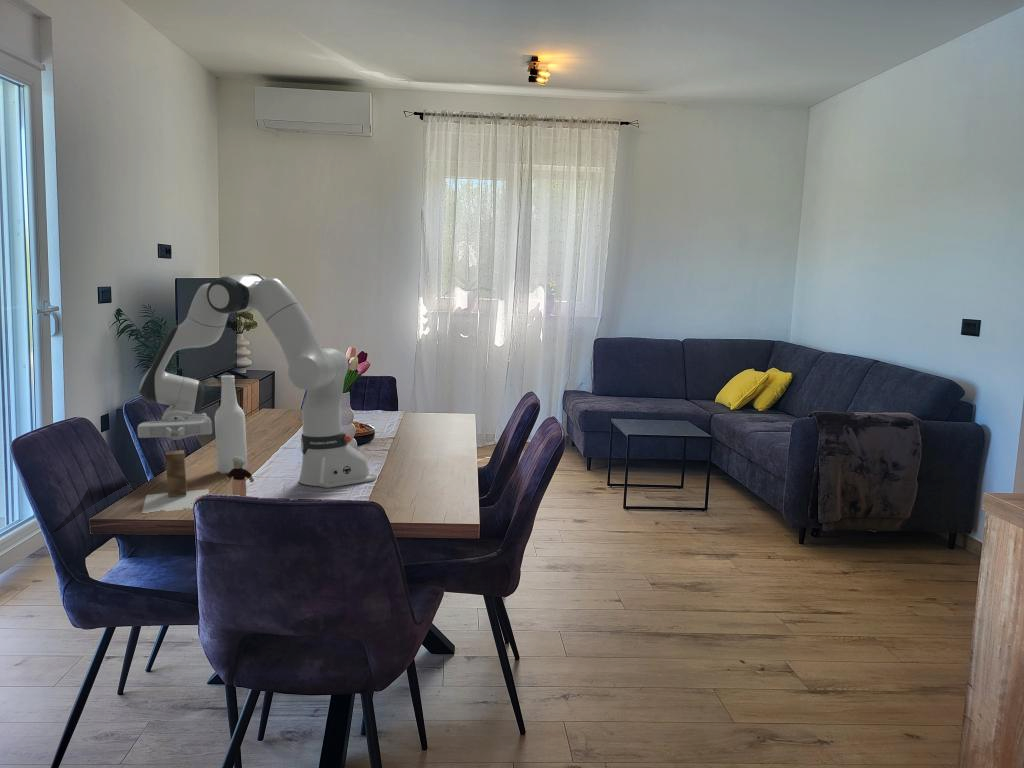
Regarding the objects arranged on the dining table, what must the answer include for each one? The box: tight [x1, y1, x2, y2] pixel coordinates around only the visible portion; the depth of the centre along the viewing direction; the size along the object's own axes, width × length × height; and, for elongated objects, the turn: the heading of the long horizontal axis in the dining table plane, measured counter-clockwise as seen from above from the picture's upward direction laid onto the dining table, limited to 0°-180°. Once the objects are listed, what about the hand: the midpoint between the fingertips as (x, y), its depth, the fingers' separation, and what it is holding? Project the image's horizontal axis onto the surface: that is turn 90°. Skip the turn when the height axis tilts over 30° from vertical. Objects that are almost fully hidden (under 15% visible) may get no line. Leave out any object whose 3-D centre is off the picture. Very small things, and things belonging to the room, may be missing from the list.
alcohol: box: [214, 374, 248, 475], centre depth 238 cm, size 9×9×30 cm
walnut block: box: [165, 449, 187, 498], centre depth 212 cm, size 4×4×12 cm
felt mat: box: [141, 488, 210, 514], centre depth 207 cm, size 16×18×1 cm
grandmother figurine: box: [225, 456, 255, 497], centre depth 208 cm, size 8×4×13 cm, turn 95°
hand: (174, 433), depth 221 cm, fingers closed
